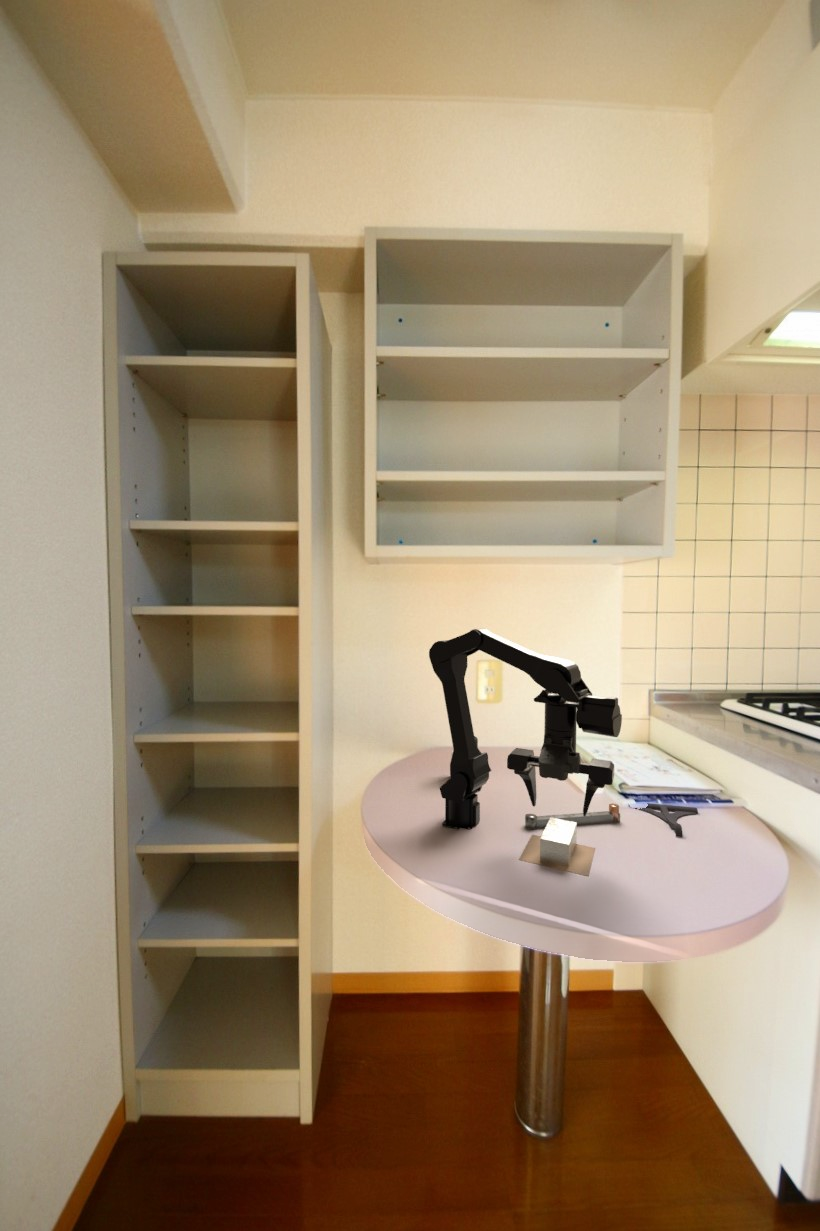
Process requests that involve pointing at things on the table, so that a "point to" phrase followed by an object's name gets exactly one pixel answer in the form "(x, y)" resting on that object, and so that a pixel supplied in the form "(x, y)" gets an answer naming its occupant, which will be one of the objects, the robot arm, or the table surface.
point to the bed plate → (577, 864)
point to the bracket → (670, 814)
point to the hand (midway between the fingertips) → (558, 810)
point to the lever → (575, 818)
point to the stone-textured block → (558, 841)
